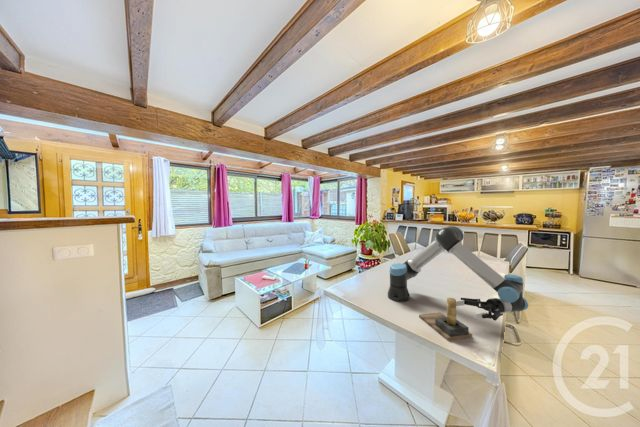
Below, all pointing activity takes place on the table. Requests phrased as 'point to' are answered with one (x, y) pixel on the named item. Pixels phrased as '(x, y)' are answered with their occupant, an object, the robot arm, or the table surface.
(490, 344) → the table surface
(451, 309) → the peg
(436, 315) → the board
